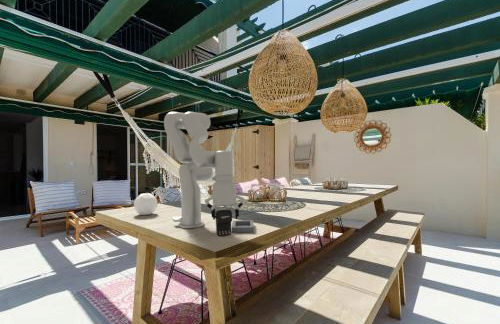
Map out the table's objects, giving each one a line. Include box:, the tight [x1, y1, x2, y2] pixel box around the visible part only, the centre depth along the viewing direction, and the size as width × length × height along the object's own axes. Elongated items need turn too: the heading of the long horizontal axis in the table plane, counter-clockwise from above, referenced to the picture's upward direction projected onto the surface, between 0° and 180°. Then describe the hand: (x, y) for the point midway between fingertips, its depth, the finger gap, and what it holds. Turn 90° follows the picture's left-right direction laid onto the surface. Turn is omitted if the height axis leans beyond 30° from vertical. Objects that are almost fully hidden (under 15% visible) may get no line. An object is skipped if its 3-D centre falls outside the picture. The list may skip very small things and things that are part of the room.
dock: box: [231, 219, 255, 234], centre depth 124 cm, size 10×13×2 cm
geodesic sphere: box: [133, 192, 158, 216], centre depth 158 cm, size 14×14×14 cm
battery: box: [215, 208, 233, 237], centre depth 113 cm, size 7×4×11 cm, turn 115°
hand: (225, 218), depth 113 cm, fingers open, 9 cm apart
